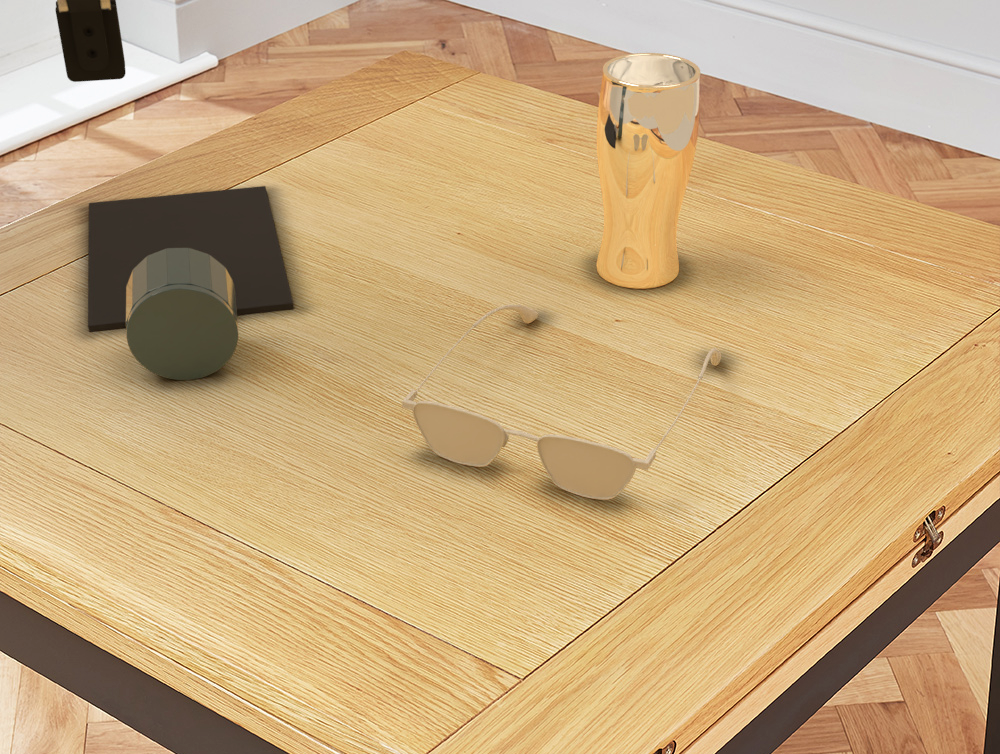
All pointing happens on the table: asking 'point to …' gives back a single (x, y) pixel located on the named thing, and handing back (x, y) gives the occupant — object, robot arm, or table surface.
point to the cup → (181, 314)
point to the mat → (186, 224)
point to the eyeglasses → (562, 456)
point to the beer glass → (645, 164)
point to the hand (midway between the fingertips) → (97, 74)
